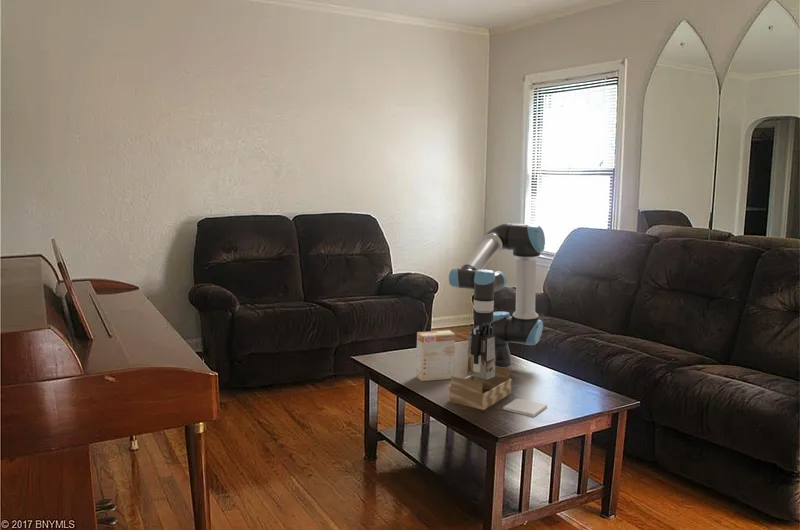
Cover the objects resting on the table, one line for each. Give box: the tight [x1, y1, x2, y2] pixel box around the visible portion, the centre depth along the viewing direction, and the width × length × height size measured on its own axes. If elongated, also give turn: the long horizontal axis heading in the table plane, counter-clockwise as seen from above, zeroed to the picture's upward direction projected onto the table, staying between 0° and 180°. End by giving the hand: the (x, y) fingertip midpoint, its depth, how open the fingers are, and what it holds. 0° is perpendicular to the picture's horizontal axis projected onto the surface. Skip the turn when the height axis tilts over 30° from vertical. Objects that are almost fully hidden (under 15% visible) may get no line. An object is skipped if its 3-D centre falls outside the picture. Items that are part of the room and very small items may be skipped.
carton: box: [447, 366, 512, 411], centre depth 250 cm, size 23×15×10 cm, turn 145°
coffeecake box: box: [415, 329, 456, 382], centre depth 273 cm, size 15×7×20 cm, turn 108°
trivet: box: [502, 398, 548, 418], centre depth 239 cm, size 12×12×1 cm
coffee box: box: [467, 333, 496, 380], centre depth 248 cm, size 9×6×16 cm
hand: (481, 369), depth 249 cm, fingers closed on coffee box, 7 cm apart
